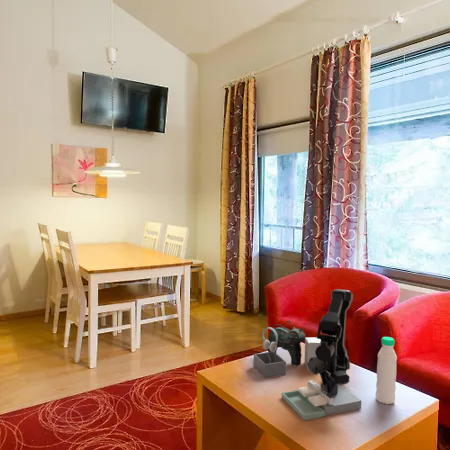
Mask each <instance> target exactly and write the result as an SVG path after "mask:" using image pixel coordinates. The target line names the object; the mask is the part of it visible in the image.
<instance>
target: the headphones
mask: <svg viewBox="0 0 450 450" xmlns="http://www.w3.org/2000/svg"><path fill="white" fill-rule="evenodd" d="M266 330H271V331H273V332H274V334H275V336H276V342H271V344H270V341H269V340H268V339H267V338H266V337H265V332H266ZM261 332H262V333H261V336H262V341H263V343H262V349H264V350H265V352H264V353H266V352H267V351H268V349H270V351H271V352H275V351H276V349H277V350H278V348H277V341H278V334H277V332H276V331H275V328H274V327H273V328H272V327H271V326H268V327H266V328H264V329H263V330H262V331H261ZM276 352H277V351H276ZM266 354H267V353H266ZM267 355H268V354H267ZM268 357H269V356H268ZM269 358H270V357H269ZM270 362H271V360H270ZM269 364H270V363H269Z"/></svg>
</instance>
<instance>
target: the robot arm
mask: <svg viewBox="0 0 450 450" xmlns="http://www.w3.org/2000/svg"><path fill="white" fill-rule="evenodd" d="M330 299H331V300H330V303H329V307H328V310H327V313H326V314H324V315H322V318H321V320H320V321H319V323H318V328H317V335H316V338H317V339H321V342H320V344H319V346H318V347H317V348H316V351H315V354H316V357H311V358H310V360H309V362H308V363H307V365H308V369H307V370H308V371H309V372H310V373H312V375H314V376H316V375H319V377H320V380H321V383H326V382H328V392H329V393H331V392H332V390H333V388H334V387H335V385H336V384H340V385H341V384H342V385H343V384H348V383H350V375H348V374H347V371H348V370H350V368H351V364H350V359H349V356H348V350H347V348H346V347H345V346H346V345H345V335H346V321H347V310H349V309H350V307H351V304H352V302H353V301H354V300H353V299H354V294H353V293H352V292H351V290H348V289H338V288H335V289H334V290H331V292H330Z"/></svg>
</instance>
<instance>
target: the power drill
mask: <svg viewBox="0 0 450 450" xmlns="http://www.w3.org/2000/svg"><path fill="white" fill-rule="evenodd" d="M288 322H289V323H290V324H291V325H293V322H292V321H291V320H286V323H285V324H287V323H288ZM275 326H276V327H275ZM277 326H278V327H277ZM279 326H280V327H279ZM271 328H273V329H275V331H276V332H277V334H278V341H277V349H276V351H275V353H276V354H277V351H278V347H280V348H281V349H283V350H285V351H287V352H288V353H289V357H290V365H291V366H295V367H298V366H300V365H302V357H303V356H302V346H301V343H303V342H305V338H306V334H305V332H304V330H303V328H302V327H300V328H296V327H295V326H291V329H289V328H288V327H287V328H286V327H285V326H284V325H282V324H274V325H272V327H271ZM267 340H269V341H270V344H271V342H276V336H275V334H274V332H273V331H272V330H271V331H270V332H269V334H268V339H267ZM267 352H271V351H270V349H268V350H267Z"/></svg>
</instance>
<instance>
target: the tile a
mask: <svg viewBox="0 0 450 450" xmlns="http://www.w3.org/2000/svg"><path fill="white" fill-rule="evenodd" d="M297 390H298V391H299V392H300V393H301V394H302V395H303V396H304V397H307V396H313V395H316V391H314V390H313V389H312V388H311V387H310V386H308V385H306V386H302V387H298V388H297Z"/></svg>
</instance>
